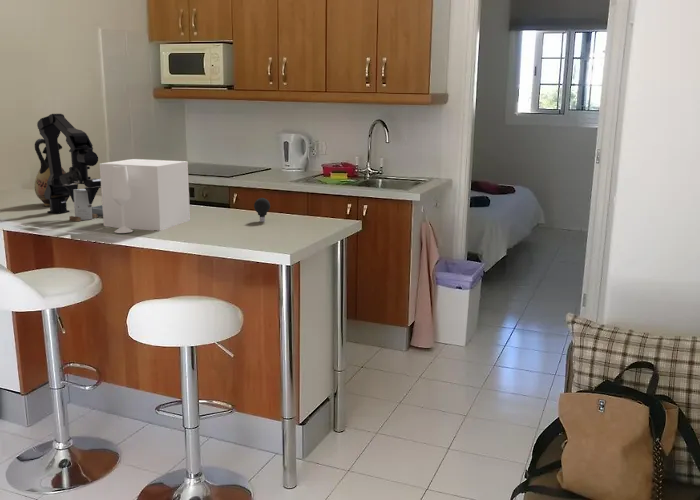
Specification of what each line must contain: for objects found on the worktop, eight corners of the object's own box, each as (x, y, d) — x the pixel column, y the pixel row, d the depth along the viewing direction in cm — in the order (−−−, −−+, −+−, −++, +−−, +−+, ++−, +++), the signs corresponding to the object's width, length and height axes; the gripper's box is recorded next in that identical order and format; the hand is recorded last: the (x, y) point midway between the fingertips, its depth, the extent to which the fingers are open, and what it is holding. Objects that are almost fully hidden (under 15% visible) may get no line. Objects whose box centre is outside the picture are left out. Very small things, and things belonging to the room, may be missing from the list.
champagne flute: (113, 230, 253) (109, 165, 247) (132, 229, 255) (128, 165, 250) (115, 233, 247) (110, 167, 241) (134, 232, 249) (130, 167, 244)
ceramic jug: (60, 201, 318) (55, 137, 312) (79, 204, 310) (74, 138, 303) (25, 205, 305) (19, 138, 298) (44, 209, 296) (38, 140, 290)
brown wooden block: (69, 220, 271) (69, 216, 270) (88, 216, 279) (88, 213, 279) (78, 221, 269) (78, 217, 268) (97, 217, 277) (97, 214, 277)
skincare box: (77, 220, 270) (74, 190, 268) (74, 219, 274) (72, 189, 271) (93, 219, 274) (91, 189, 271) (90, 217, 277) (88, 188, 275)
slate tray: (87, 214, 284) (86, 207, 283) (112, 210, 296) (112, 203, 295) (111, 217, 278) (110, 210, 277) (136, 212, 290) (136, 206, 289)
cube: (190, 222, 273) (187, 161, 268) (160, 231, 253) (157, 166, 248) (136, 218, 280) (133, 158, 275) (103, 227, 260) (99, 163, 255)
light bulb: (273, 221, 273) (272, 197, 271) (266, 224, 267) (265, 199, 265) (258, 220, 275) (258, 196, 273) (251, 223, 269) (251, 198, 267)
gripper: (46, 164, 266) (49, 203, 270) (79, 167, 258) (82, 207, 261) (69, 162, 276) (72, 200, 279) (102, 164, 267) (105, 204, 271)
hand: (82, 203), depth 272 cm, fingers open, 9 cm apart
